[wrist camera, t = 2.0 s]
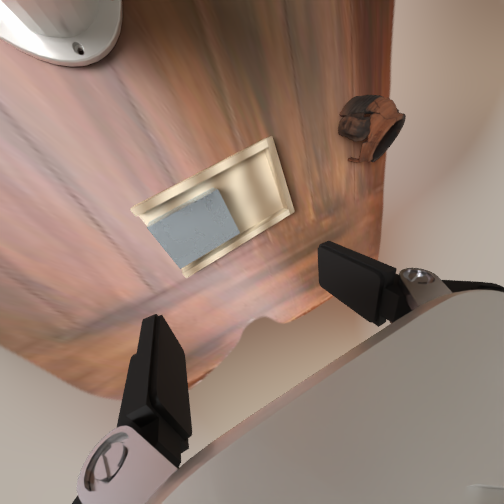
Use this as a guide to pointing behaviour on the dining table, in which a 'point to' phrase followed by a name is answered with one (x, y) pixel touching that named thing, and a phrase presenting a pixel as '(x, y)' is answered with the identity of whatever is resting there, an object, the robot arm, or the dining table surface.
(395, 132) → the pottery mug
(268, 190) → the tray
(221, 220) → the cover plate
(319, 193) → the dining table surface
